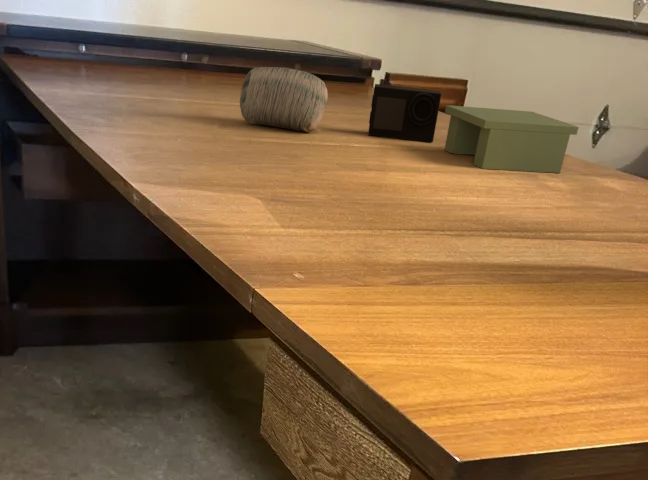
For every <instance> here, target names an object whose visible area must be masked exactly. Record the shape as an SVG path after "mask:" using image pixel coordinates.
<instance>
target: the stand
mask: <svg viewBox="0 0 648 480" xmlns="http://www.w3.org/2000/svg"><path fill="white" fill-rule="evenodd" d="M444 113H445V114H447V115H450V117H449V118H450V119H449V124H448V129H447V135H446V139H445V145H444V151H446V150H447V152H448V153H450V154H452V153H453V155H455V154H456V155H469V154H470V155H469V156H474V160H473V166H476V167H478V168H480V169H482V170H499V171H516V172H533V173H551V174H561V171H562V168H563V164H564V160H565V156H566V152H567V148H568V143H569V141H570V137H571V135H572V136H573V135H574V136H577V135H578V131H579V128H580V127H579V126H577V125H574V124H571V123H568V122H565V121H562V120H559V119H555V118H553V117H549V116H547V115H544V114H541V113H538V112H535V111H529V110H515V109H503V108H487V107H478V106H477V107H476V106H475V107H474V106H464V105H463V106H461V105H451V104H450V105H449V104H448V105H447V104H446V105H445V111H444Z"/></svg>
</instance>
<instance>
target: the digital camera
mask: <svg viewBox="0 0 648 480" xmlns="http://www.w3.org/2000/svg"><path fill="white" fill-rule="evenodd" d="M441 98H442V93H441V91H440V90H435V89H426V88H418V87H409V86H399V85H390V84H379V83H375V84H374V87H373V94H372V98H371V105H370V107H371V109H370V112H369V120H368V124H369V125H368V133H367V135H368V136H371V137H372V136H373V137H381V138H391V139H399V140H407V141H414V142H415V141H416V142H424V141H425V142H426V143H433V142H434V138H435V133H436V129H437V128H436V126H437V121H438V116H439V111H440V110H439V109H440V106H441Z"/></svg>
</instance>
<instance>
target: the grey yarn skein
mask: <svg viewBox="0 0 648 480" xmlns="http://www.w3.org/2000/svg"><path fill="white" fill-rule="evenodd" d="M328 93H329V92H328V88H327V85H326V84H325V82H324V81H323V80H322V79H321V78H320V77H318V76H316V75H315V74H312V73H310V72H308V71H304V70H299V69H295V68H289V67H278V66H261V67H253V68H252V69H250V70H249V71H248V73H246V76H245V78H244V80H243V83H242V87H241V90H240V97H239V108H240V112H241V116H242V118H243V120H244V121H246V122H248V123H250V124H251V125H261V126H269V127H277V128H281V129H286V130H292V131H298V132H304V133H305V132H306V133H307V132H308V133H311V132H314V131H315V130H316V129H317V128H318V127H319V125H320V124H321V122H322V119H323V116H324V114H325V111H326V107H327V103H328V97H329V94H328Z"/></svg>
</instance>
